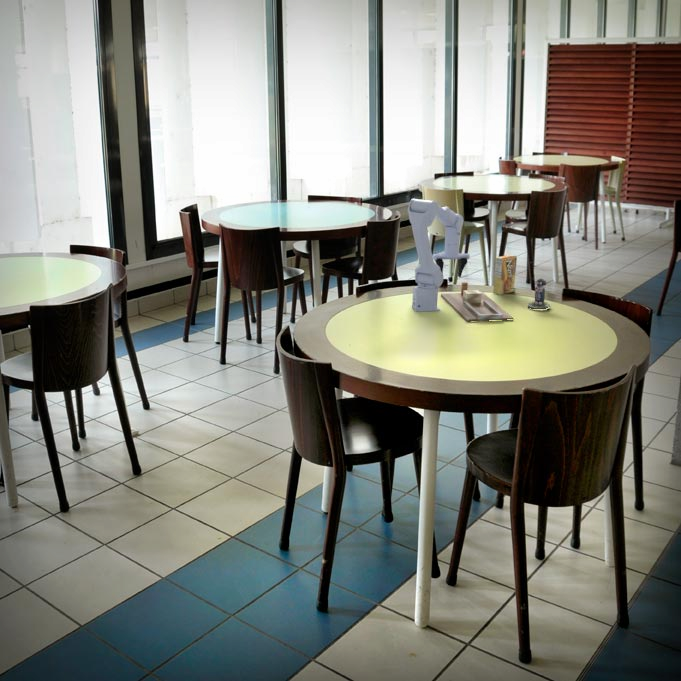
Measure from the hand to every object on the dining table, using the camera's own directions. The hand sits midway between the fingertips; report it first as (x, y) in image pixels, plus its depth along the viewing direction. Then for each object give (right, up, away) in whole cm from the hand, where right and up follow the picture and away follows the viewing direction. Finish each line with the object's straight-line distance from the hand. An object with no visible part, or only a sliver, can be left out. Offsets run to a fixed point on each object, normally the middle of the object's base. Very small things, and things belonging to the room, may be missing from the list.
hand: (450, 276), depth 339 cm
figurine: (+34, -13, -7) cm, 37 cm away
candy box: (+24, -6, +14) cm, 29 cm away
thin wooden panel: (+9, -13, -8) cm, 18 cm away
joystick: (+7, -9, 0) cm, 11 cm away
